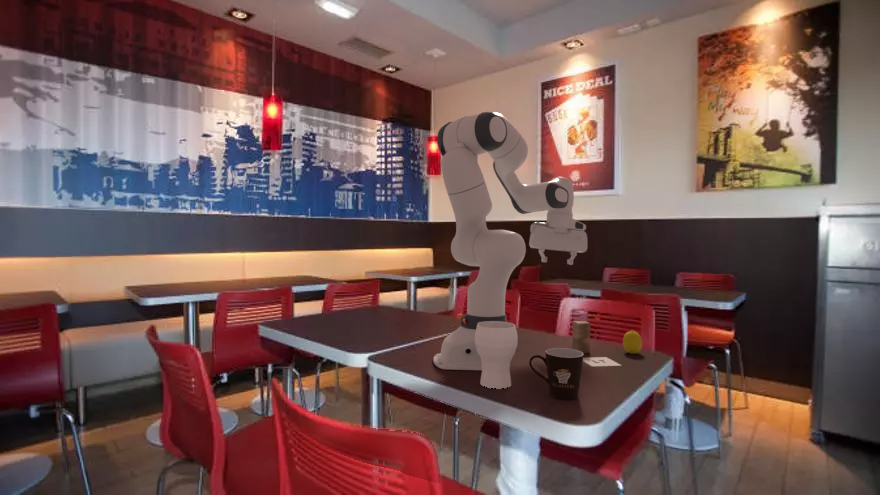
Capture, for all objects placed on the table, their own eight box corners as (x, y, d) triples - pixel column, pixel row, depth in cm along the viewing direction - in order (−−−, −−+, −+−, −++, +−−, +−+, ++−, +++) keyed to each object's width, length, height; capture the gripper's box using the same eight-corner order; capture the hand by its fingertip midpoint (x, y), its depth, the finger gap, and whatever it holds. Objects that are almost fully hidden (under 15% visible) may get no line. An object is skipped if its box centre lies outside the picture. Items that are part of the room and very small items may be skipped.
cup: (524, 389, 107) (524, 327, 106) (482, 393, 104) (483, 329, 104) (507, 376, 117) (507, 319, 117) (469, 379, 115) (469, 321, 114)
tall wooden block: (577, 354, 140) (578, 323, 139) (572, 351, 143) (572, 321, 143) (589, 354, 140) (590, 323, 140) (584, 351, 144) (584, 320, 144)
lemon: (644, 357, 137) (645, 331, 137) (626, 357, 137) (627, 331, 137) (637, 353, 142) (637, 328, 142) (619, 352, 142) (620, 328, 142)
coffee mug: (589, 395, 103) (590, 352, 103) (571, 404, 97) (572, 359, 97) (545, 383, 111) (546, 344, 111) (526, 391, 105) (527, 350, 105)
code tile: (591, 368, 125) (591, 366, 125) (578, 359, 134) (578, 357, 134) (621, 367, 126) (621, 365, 126) (606, 359, 135) (606, 356, 135)
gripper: (533, 219, 151) (531, 260, 149) (590, 225, 153) (588, 265, 152) (527, 222, 157) (525, 261, 156) (582, 228, 160) (580, 266, 158)
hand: (557, 263), depth 154 cm, fingers open, 8 cm apart
